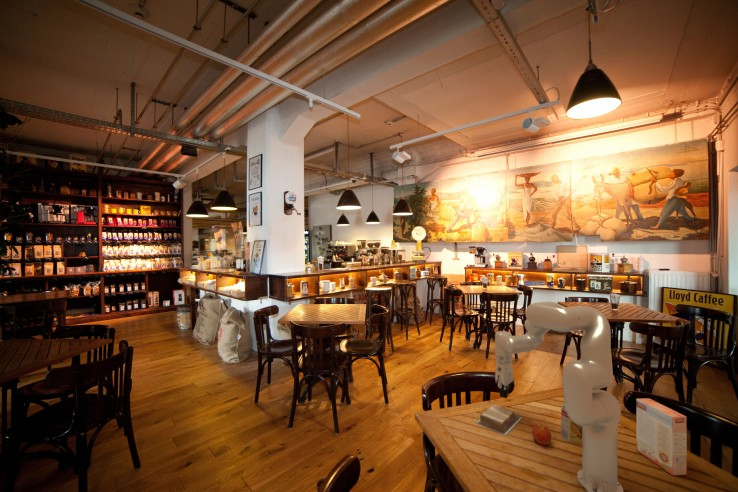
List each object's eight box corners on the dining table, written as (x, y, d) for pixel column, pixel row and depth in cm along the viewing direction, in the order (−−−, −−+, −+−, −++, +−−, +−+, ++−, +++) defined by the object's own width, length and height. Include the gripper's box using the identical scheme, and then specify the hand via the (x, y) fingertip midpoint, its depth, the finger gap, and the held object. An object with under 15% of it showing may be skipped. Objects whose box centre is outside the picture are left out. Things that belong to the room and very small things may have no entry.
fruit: (552, 441, 129) (552, 422, 129) (550, 450, 123) (550, 430, 123) (533, 436, 133) (533, 417, 133) (531, 444, 127) (531, 425, 127)
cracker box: (688, 475, 110) (687, 416, 110) (672, 476, 109) (671, 416, 109) (649, 450, 124) (649, 397, 124) (635, 450, 123) (635, 397, 123)
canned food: (588, 441, 129) (588, 412, 129) (573, 445, 127) (573, 415, 127) (570, 431, 136) (570, 403, 136) (556, 434, 134) (556, 406, 134)
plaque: (514, 420, 144) (502, 432, 134) (493, 412, 151) (480, 423, 142) (514, 411, 144) (502, 423, 134) (493, 403, 151) (480, 414, 142)
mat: (506, 436, 132) (506, 435, 132) (475, 423, 142) (475, 422, 142) (523, 418, 146) (523, 417, 146) (493, 407, 156) (493, 406, 156)
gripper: (505, 364, 140) (505, 405, 140) (517, 356, 150) (517, 394, 150) (489, 360, 145) (489, 399, 145) (502, 352, 156) (502, 389, 156)
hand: (503, 396), depth 148 cm, fingers closed
